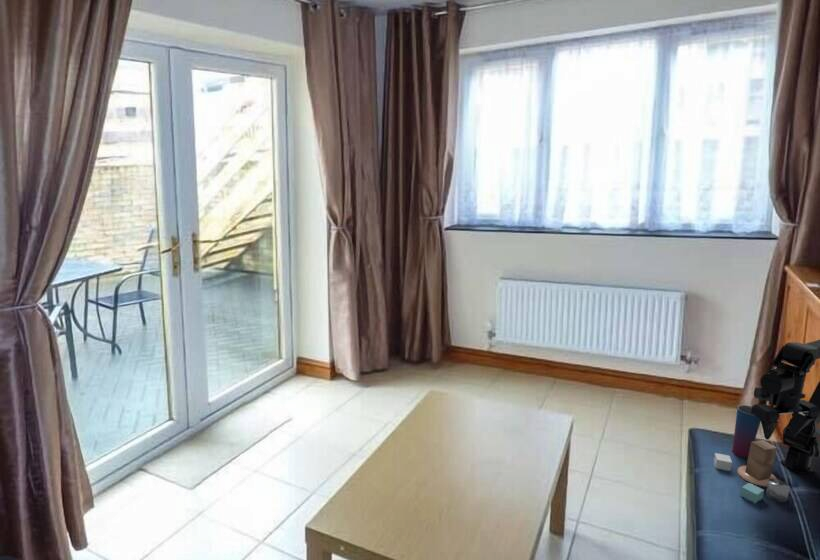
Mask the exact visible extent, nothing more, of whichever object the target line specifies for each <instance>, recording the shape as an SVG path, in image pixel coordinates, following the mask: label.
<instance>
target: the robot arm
mask: <svg viewBox="0 0 820 560" xmlns="http://www.w3.org/2000/svg"><path fill="white" fill-rule="evenodd" d="M819 359H820V339H817V340H813V341H809V342H806V343H801V342H793V341H791V342H790V341H789V342H787V343H785V344H784V345H782V346H781V348H780V349H779V351H778V353H777V354H776V356H775V357H774V359H773V361H772V362H771V366H772V367H774V368H771V369H770V370H769V372H768V373H765V374H763V375H762V376H761V378H760V380H759V381H760V386H761V387H760V386H759V387H758V386H757V387H755V388H754V389H753V397H754V398H755V399H757V400H758V401H759V402H762V401H765V402H768V404H766V403H758V404H757V403H756V404H755V403H754V404H753V405H751V406H752V408H751V413H752V414H754V415H755V416H756V417H758V418H759V419H760V424H761V427H762V432H763V438H764V440H765V439H766V440H770V439H771V437H772V435H773V433H774V432H775V431H776V428H777V427H778V424H779V421H778V420H779V419H780V416H781V415H789V414H791V417H790V419H789V421H788V424H787V425H786V426H785V427H784V428H783V430H782V444H783V445H786V446H787V447H788V448H787V452H786V455H785V459H784V460H780V464H782V465H784V466H785V467H787V468H789V469H790V470H792V471H793V472H795V473H797V474H807V473H812V472H814V473H815V472H816V468H815V469H814V468H813V467H811V466H812V463H813V458H814V457H816V458H819V457H820V380H819V381H818V383H817V385H816V386H815V388H814V390H813V392H812V394H811V396H810V398H809V399H808V400H805V398H806V393H803V391H804V386H805V382H806V377H807V374H808V373H810V372H811V368H812V367H813V366H815V365H816V361H817V360H819ZM770 405H771V406H770ZM772 406H774V407H772Z"/></svg>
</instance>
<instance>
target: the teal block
mask: <svg viewBox="0 0 820 560" xmlns="http://www.w3.org/2000/svg"><path fill="white" fill-rule="evenodd" d="M764 493H765V490H764V489H763V488H761V487H760V486H758V485H754V484H752V483H749V482H748V483H746V484H745V485H743V486H742V487H741V490H740V494H739V497H741V496H742V497H741V498H743V497H744V498H743V499H745V498H746V499H745V500H747V499H748V500H747V501H749V500H750V501H749V502H751V501H753V502H754V503H753V502H752V503H753V504H755V503H756V502H757V501H759V500H760V501H762V500H763V498H764ZM761 499H762V500H761ZM760 501H759V502H760ZM757 503H758V502H757ZM757 503H756V504H757Z"/></svg>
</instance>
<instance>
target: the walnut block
mask: <svg viewBox="0 0 820 560" xmlns="http://www.w3.org/2000/svg"><path fill="white" fill-rule="evenodd" d="M776 453H777V446H775V445H773V444H771V443H769V442H768V441H766V440H765V439H758V440H755V441H753V442H751V446H750V451H749V456H748V458H747V462H746V465H745V466H746V470H745V472H746V473H747V474H749V475H750V476H752V477H753V478H755V479H757V480H758V481H760V480H765V479H770V477H771V474H773V473H772V472H773V468H774V467H773V466H774V462H775V458H776V455H777V454H776Z"/></svg>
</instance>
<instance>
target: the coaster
mask: <svg viewBox="0 0 820 560" xmlns="http://www.w3.org/2000/svg"><path fill="white" fill-rule="evenodd" d="M746 466H747V465H741V466H739V467H738V468H737V474H738V475H740V476H741V477H742V478H741V477H740V476H739V477H740V478H741V479H743V480H744V481H746V482H747V481H748V483H749V482H750V483H751V484H753V485H754V484H755V486H758V485H759V486H758V487H762V486H763V487H764V488H767V486H768V482H769V479H765V480H760V481H758V480H757V479H755V478H753V477H752V476H750V475H749V474H747V473H746V472H745V470H746ZM770 479H778V478H777V477H776V475H774V474H773V473H771V477H770ZM763 487H762V488H763Z"/></svg>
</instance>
